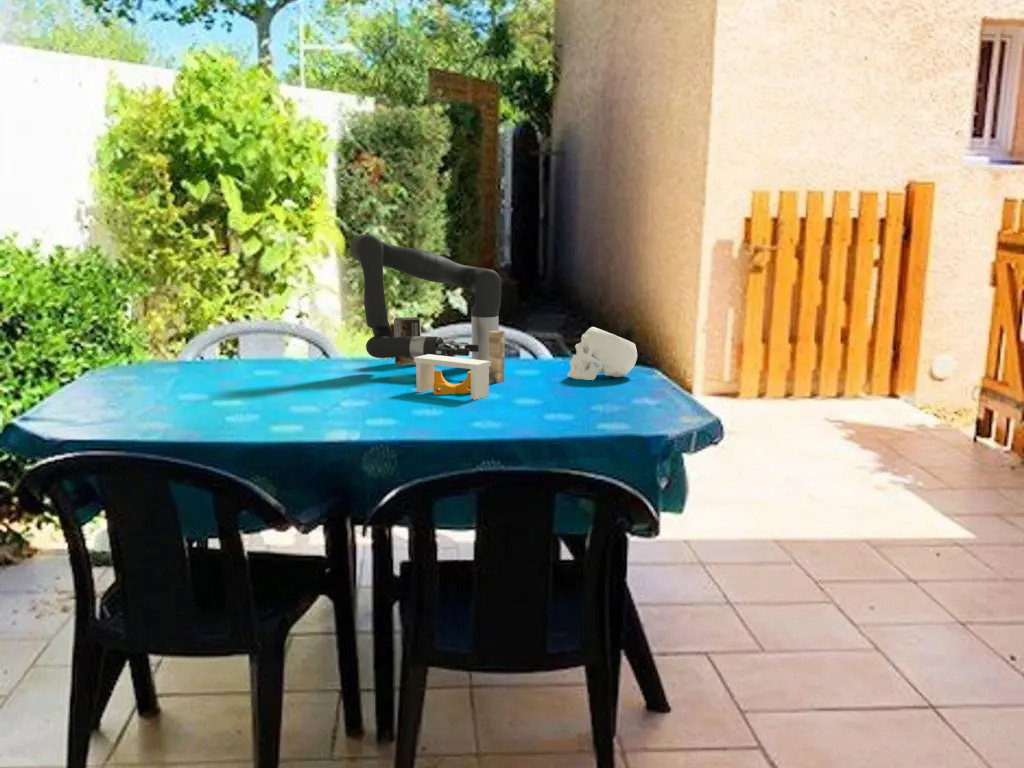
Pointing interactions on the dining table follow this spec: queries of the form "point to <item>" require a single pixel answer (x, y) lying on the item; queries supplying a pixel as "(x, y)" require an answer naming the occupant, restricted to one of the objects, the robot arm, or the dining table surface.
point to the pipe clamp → (450, 385)
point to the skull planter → (602, 355)
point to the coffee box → (406, 334)
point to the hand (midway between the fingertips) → (473, 350)
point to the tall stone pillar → (496, 357)
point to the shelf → (478, 367)
